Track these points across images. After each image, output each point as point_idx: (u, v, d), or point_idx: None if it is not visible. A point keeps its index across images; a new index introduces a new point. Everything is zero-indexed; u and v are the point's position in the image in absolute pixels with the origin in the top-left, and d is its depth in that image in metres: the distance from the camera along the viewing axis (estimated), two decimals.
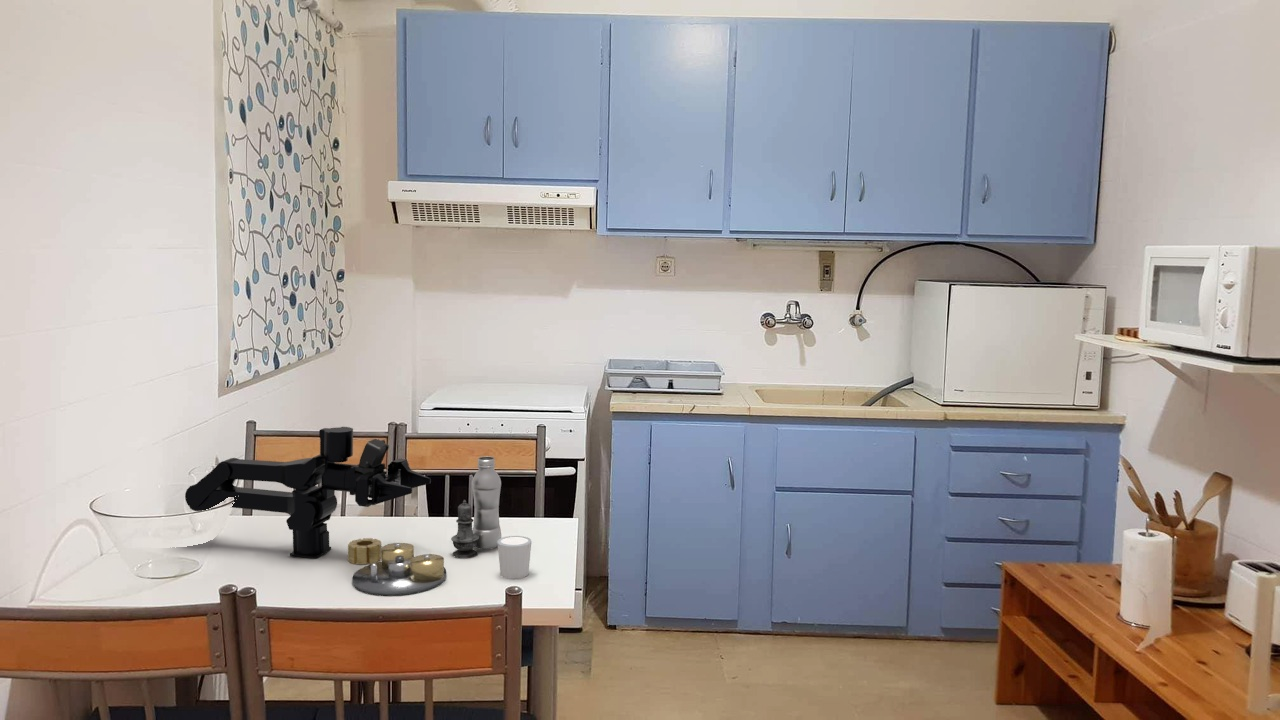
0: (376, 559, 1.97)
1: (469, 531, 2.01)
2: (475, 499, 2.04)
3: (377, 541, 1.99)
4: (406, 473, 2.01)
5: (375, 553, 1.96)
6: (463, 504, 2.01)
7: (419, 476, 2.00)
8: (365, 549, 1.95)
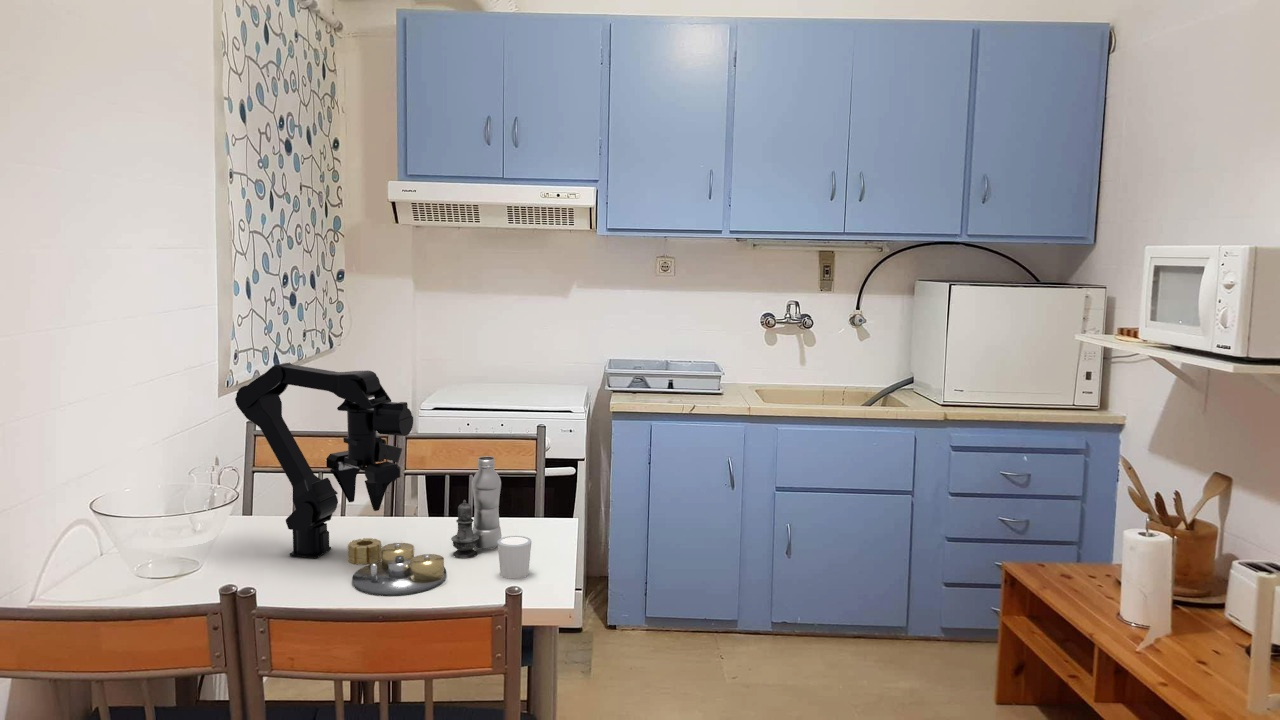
0: (376, 559, 1.97)
1: (469, 531, 2.01)
2: (475, 499, 2.04)
3: (377, 541, 1.99)
4: (353, 475, 2.00)
5: (375, 553, 1.96)
6: (463, 504, 2.01)
7: (354, 490, 2.00)
8: (365, 549, 1.95)
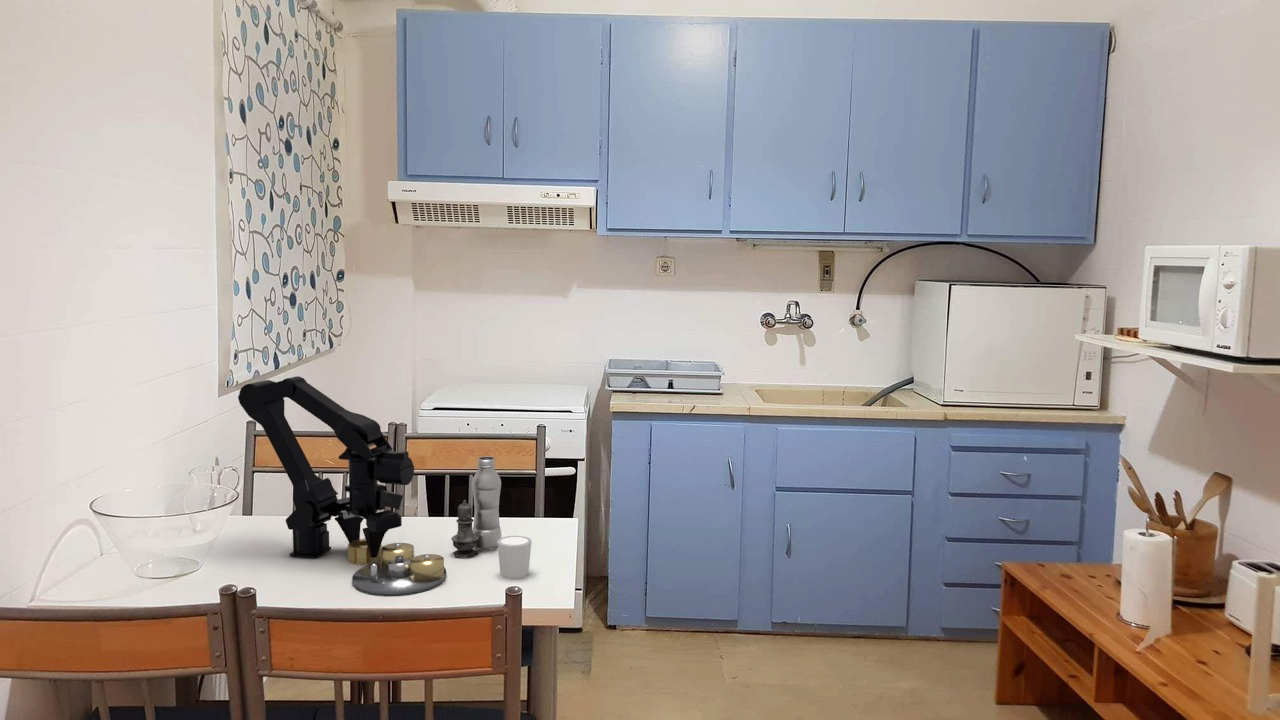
0: (376, 559, 1.97)
1: (469, 531, 2.01)
2: (475, 499, 2.04)
3: None
4: (358, 523, 2.01)
5: None
6: (463, 504, 2.01)
7: (358, 538, 2.01)
8: (365, 549, 1.95)
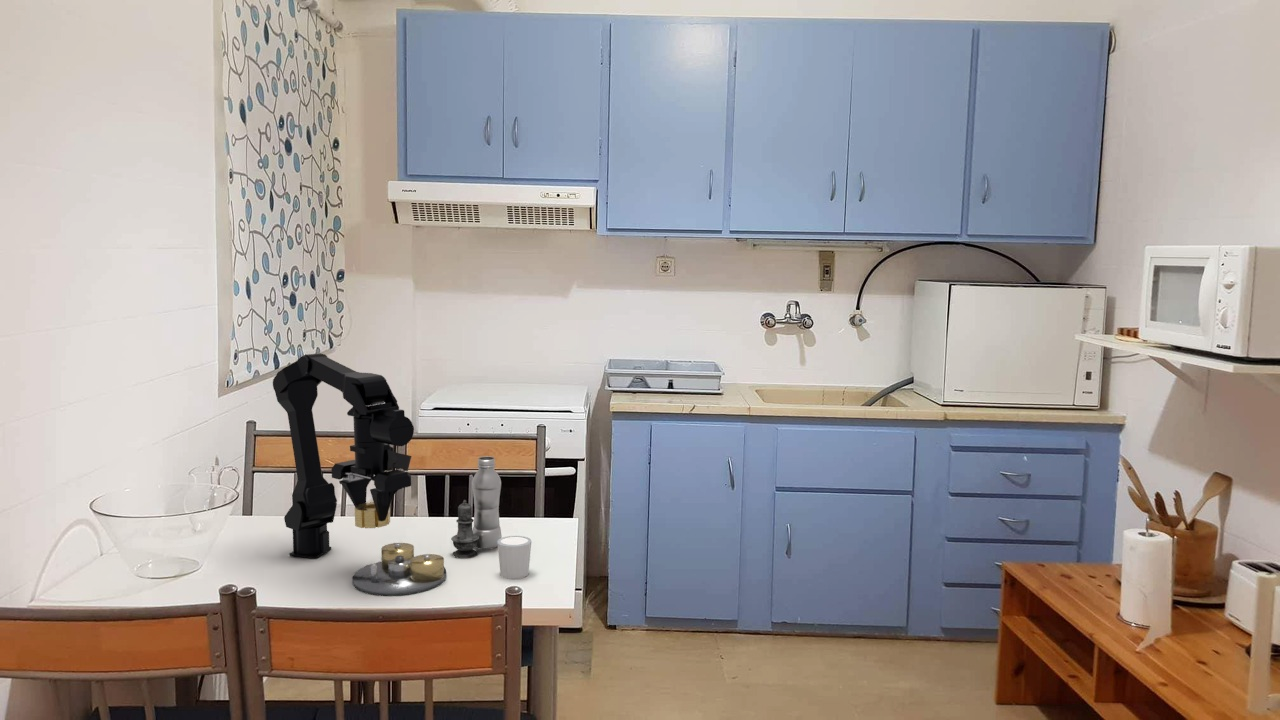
0: (385, 522, 1.85)
1: (469, 531, 2.01)
2: (475, 499, 2.04)
3: None
4: (364, 486, 1.89)
5: None
6: (463, 504, 2.01)
7: (365, 502, 1.89)
8: (373, 512, 1.84)
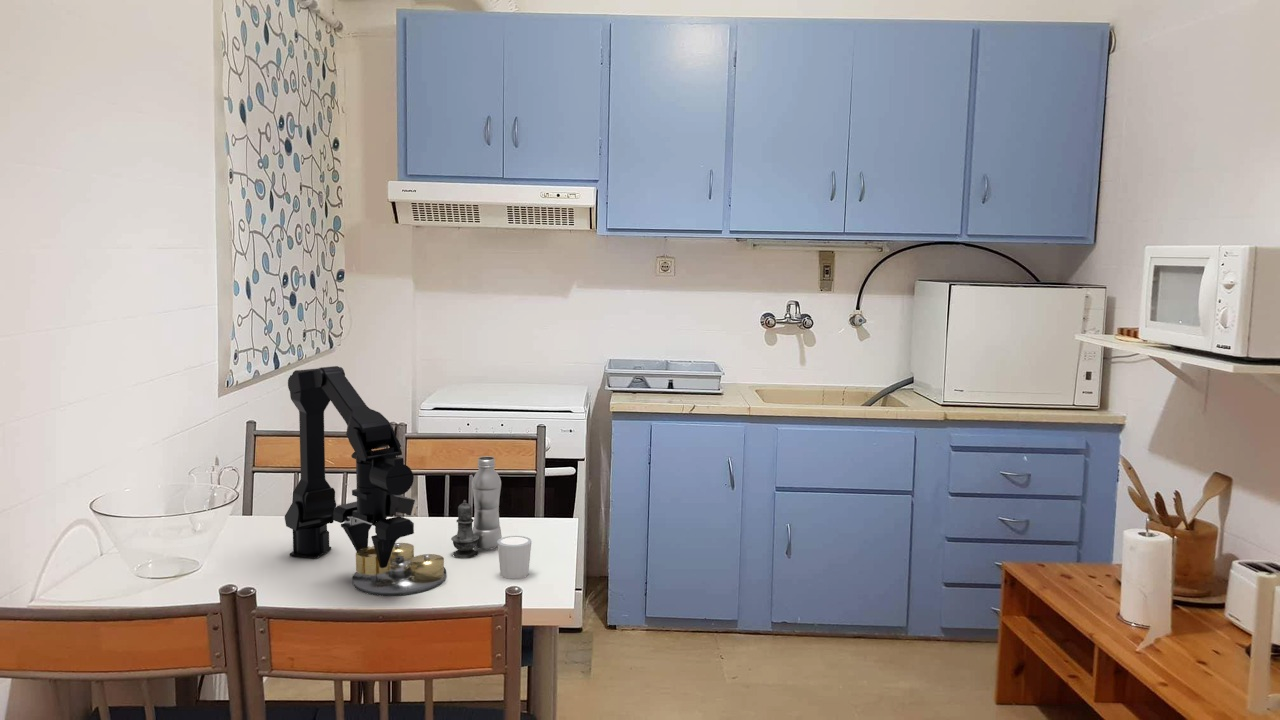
0: (386, 569, 1.81)
1: (469, 531, 2.01)
2: (475, 499, 2.04)
3: None
4: (366, 530, 1.85)
5: None
6: (463, 504, 2.01)
7: (366, 546, 1.85)
8: (374, 558, 1.79)
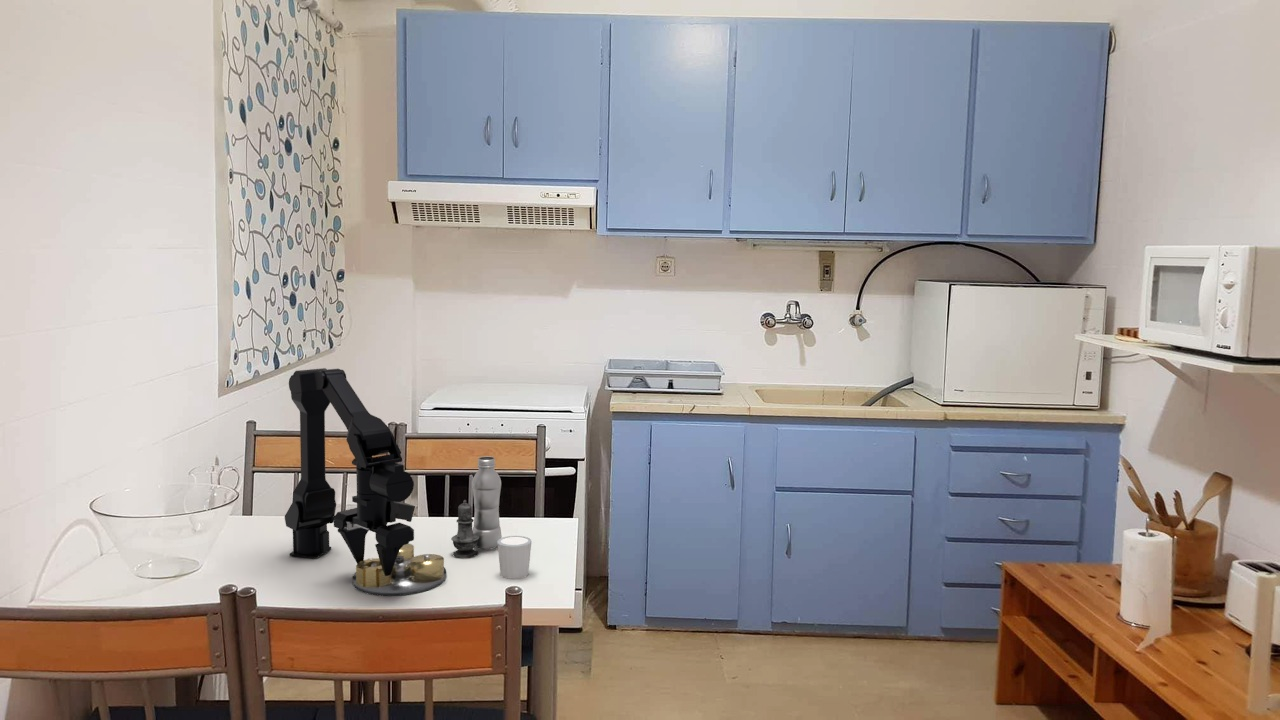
0: (386, 581, 1.81)
1: (469, 531, 2.01)
2: (475, 499, 2.04)
3: None
4: (363, 535, 1.86)
5: None
6: (463, 504, 2.01)
7: (363, 551, 1.86)
8: (375, 571, 1.80)
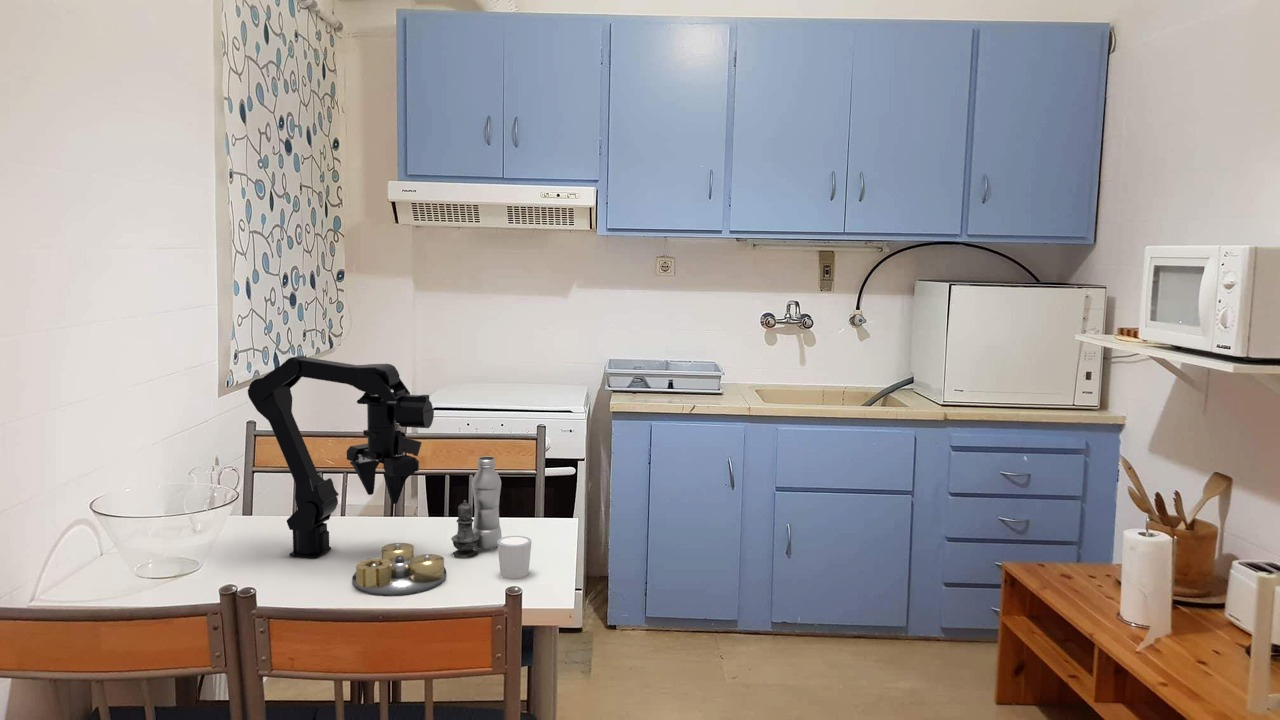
0: (386, 581, 1.81)
1: (469, 531, 2.01)
2: (475, 499, 2.04)
3: (387, 562, 1.84)
4: (373, 467, 2.01)
5: (385, 575, 1.81)
6: (463, 504, 2.01)
7: (373, 482, 2.01)
8: (375, 571, 1.80)
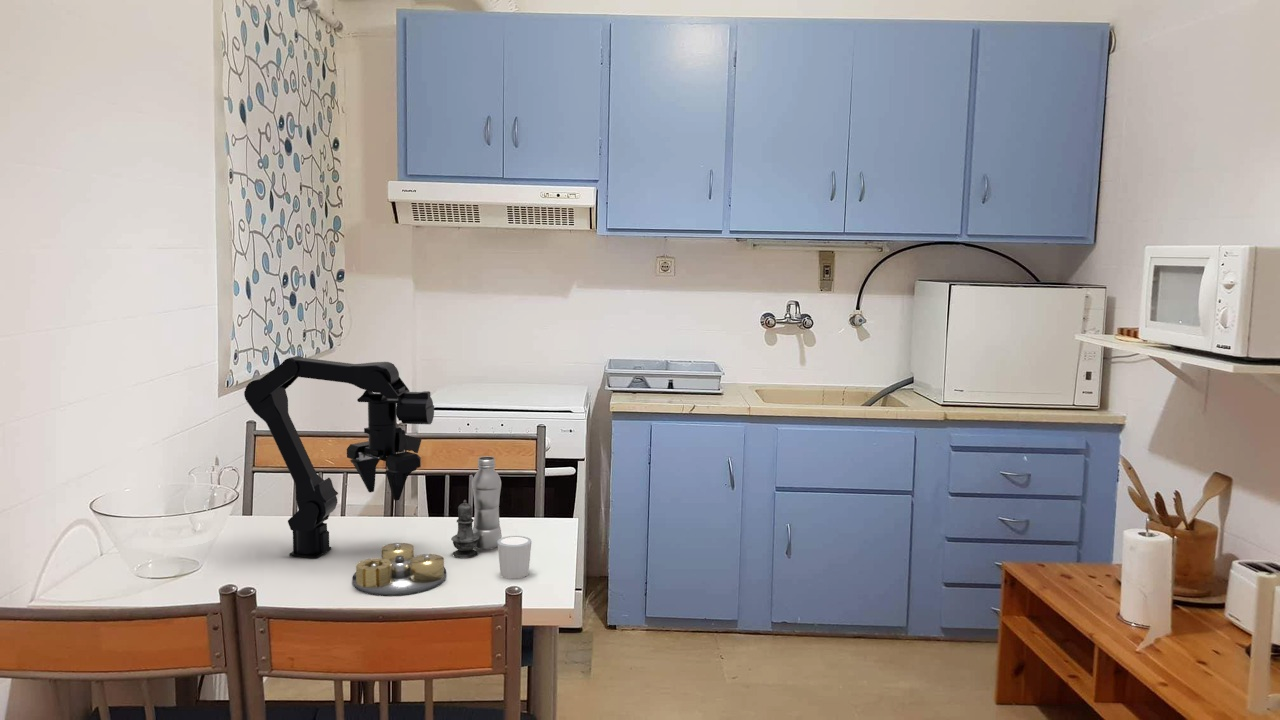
0: (386, 581, 1.81)
1: (469, 531, 2.01)
2: (475, 499, 2.04)
3: (387, 562, 1.84)
4: (373, 465, 2.02)
5: (385, 575, 1.81)
6: (463, 504, 2.01)
7: (374, 480, 2.02)
8: (375, 571, 1.80)
